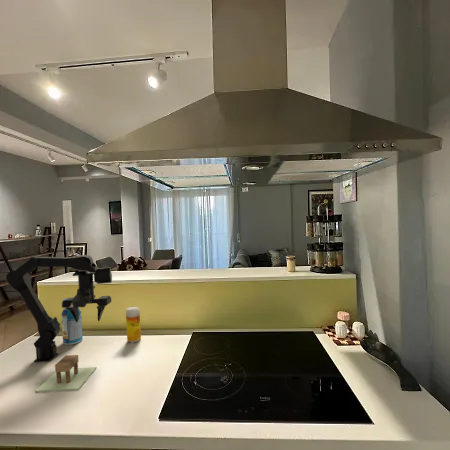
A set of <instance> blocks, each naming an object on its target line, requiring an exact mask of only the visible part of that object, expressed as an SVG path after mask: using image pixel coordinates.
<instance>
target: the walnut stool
mask: <svg viewBox="0 0 450 450" xmlns="http://www.w3.org/2000/svg"><path fill="white" fill-rule="evenodd" d="M78 363H79V354H70V355H69V354H68V355H67V354H66V355H65V356H63V357H62V358H61V359H60V360H59V361H58V362H56V364H54V370H55V371H54V373H55V372H56V376H57V384H58V383H61V372H65V375H66V383H69V382H70V381H71V380H70V370H71V369H72V368H74V374H78V368H79V364H78Z"/></svg>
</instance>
